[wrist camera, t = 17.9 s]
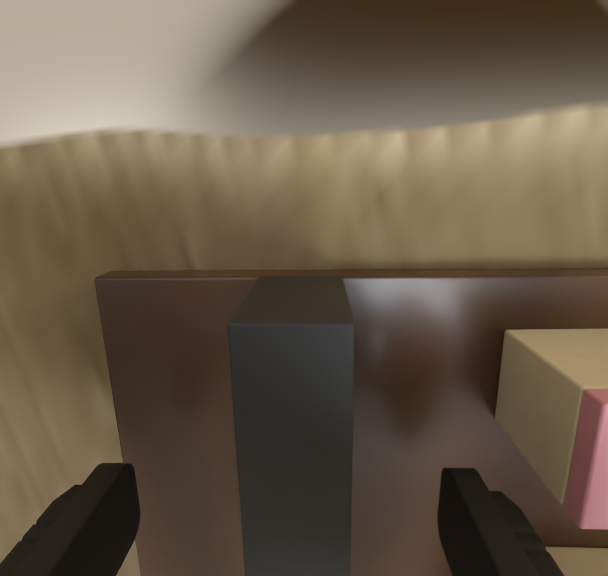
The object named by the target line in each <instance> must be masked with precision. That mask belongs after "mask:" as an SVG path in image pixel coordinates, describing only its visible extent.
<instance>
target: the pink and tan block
mask: <svg viewBox="0 0 608 576" xmlns="http://www.w3.org/2000/svg"><path fill="white" fill-rule="evenodd" d="M495 419H496V421H497V422H498V423H499V425H500V426H501V427H502V429H503V430H504V431H505V433H506V434H507V435H508V436H509V438H510V439H511V440H512V442H513V443H514V444H515V445H516V447H517V448H518V449H519V451H520V452H521V453H522V455H523V456H524V457H525V458H526V460H527V461H528V462H529V464H530V465H531V466H532V467H533V469H534V470H535V471H536V473H537V474H538V475H539V477H540V478H541V479H542V480H543V482H544V483H545V484H546V486H547V487H548V488H549V489H550V491H551V492H552V493H553V495H554V496H555V497H556V499H557V500H558V501H559V502H560V504H561V505H563V506H564V509H565V510H566V512H567V513H568V514H569V516H570V517H571V518H572V519H573V521H574V522H575V523H576V525H577V526H578V527H579V528H580V529H608V329H525V330H505V333H504V342H503V351H502V360H501V369H500V377H499V386H498V395H497V404H496V413H495Z"/></svg>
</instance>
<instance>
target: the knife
mask: <svg viewBox="0 0 608 576" xmlns="http://www.w3.org/2000/svg"><path fill="white" fill-rule="evenodd" d="M227 327H228V341H229V356H230V370H231V384H232V398H233V412H234V426H235V441H236V455H237V469H238V483H239V497H240V511H241V526H242V540H243V554H244V568H245V576H350V561H351V511H352V462H353V412H354V362H355V322H354V318H353V315H352V311H351V307H350V304H349V300H348V296H347V293H346V289H345V285H344V282H343V278H342V276H260V277H259V278H258V280H257V281H256V283H255V284H254V286H253V287H252V289H251V290H250V292H249V293H248V294H247V296H246V297H245V299H244V300H243V302H242V303H241V305H240V306H239V308H238V309H237V311H236V312H235V313H234V315H233V316H232V318H231V319H230V321H229V322H228V324H227Z"/></svg>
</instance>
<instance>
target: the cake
mask: <svg viewBox="0 0 608 576" xmlns="http://www.w3.org/2000/svg"><path fill="white" fill-rule="evenodd" d="M546 551H547V552H549V553H550V554H551V556H552V557H553V559H554V560H555V562H556V564H557V565H558V567H559V568H560V570H561V571H562V573H563V574H564V576H608V548H587V547H546Z"/></svg>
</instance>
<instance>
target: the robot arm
mask: <svg viewBox="0 0 608 576" xmlns="http://www.w3.org/2000/svg"><path fill="white" fill-rule="evenodd" d="M437 523H438V532H439V537H440V541H441V545H442V548H443V551H444V553H445V556H446V559H447V562H448V565H449V567H450V570H451V573H452V576H564V574H563V573H562V571H561V570H560V568H559V567H558V565H557V564H556V562H555V560H554V559H553V557H552V556H551V554H550V553H549V552H547V551H546V547H545V545H544V544H543V542H542V541H541V539H540V538H539V536H538V534H535V532H534V528H533V527H532V525H531V524H530V522H529V521H528V519H527V518H526V516H525V515H524V513H523V511H522V510H521V508H519V507H518V506H517V505H516V504H515V503H514V502H513V501H511V500H510V499H509V498H508V497H507V496H506V495H505V494H503V493H502V492H501V491H489V489H488V488H487V486H486V484H485V483H484V481H483V479H482V478H481V476H480V474H479V473H478V471H477V470H476V469H475V468H443V470H442V473H441V483H440V494H439V504H438V515H437ZM139 524H140V504H139V497H138V490H137V483H136V476H135V470H134V467H133V465H132V464H130V463H101V464H99V465H98V466H97V467H96V468H95V469H94V470H93V472H92V473H91V474H90V475H89V477H88V478H87V479H86V480H85V482H84V483H83V484H82V485H74V486H73V487H72V488H70V489H69V490H68V491H66V492H65V493H64V494H62V495H61V496H60V497H58V498H57V499H55V500H54V501H53V502H52V503H51V504H50V506H49V507H48V508H47V509H46V510H45V512H44V513H43V514H42V515H41V516H40V517H39V519H38V520H37V523H36V525H33V526H32V527H31V528H30V529H29V530H28V532H27V533H26V534H25V535H24V536H23V539H22V541H21V542H18V543H17V545H16V546H15V547H14V548H13V549H12V551H11V552H10V553H9V554H8V555H7V556H6V558H5V559H4V560H3V561H2V562H1V564H0V576H116V575H117V573H118V571H119V569H120V567H121V565H122V563H123V561H124V559H125V557H126V555H127V553H128V552H129V550H130V548H131V546H132V544H133V542H134V540H135V538H136V535H137V532H138V528H139Z"/></svg>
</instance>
